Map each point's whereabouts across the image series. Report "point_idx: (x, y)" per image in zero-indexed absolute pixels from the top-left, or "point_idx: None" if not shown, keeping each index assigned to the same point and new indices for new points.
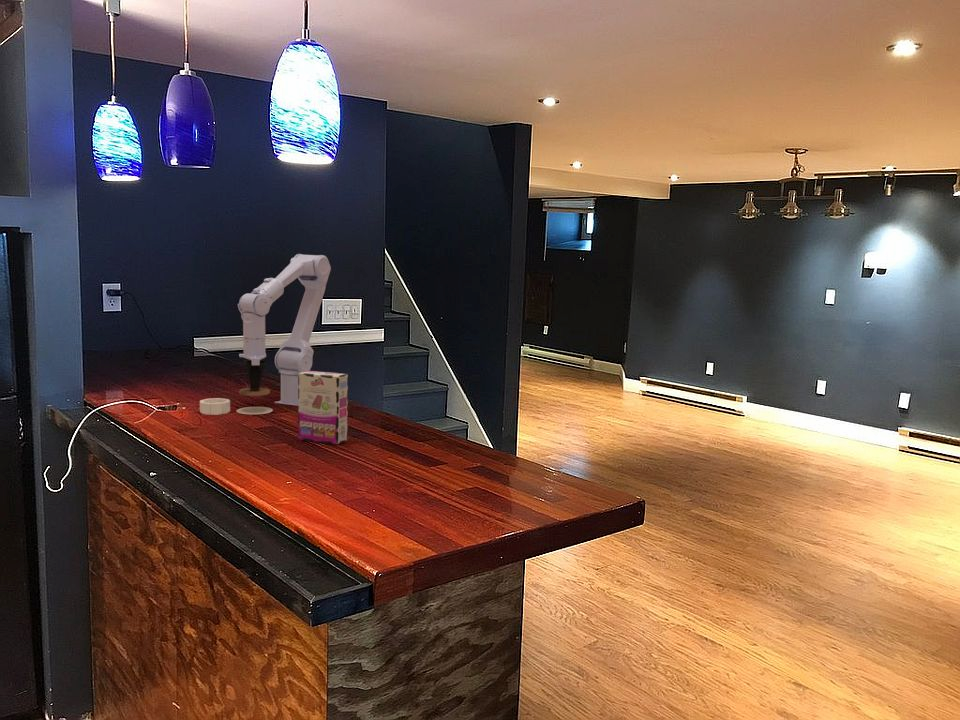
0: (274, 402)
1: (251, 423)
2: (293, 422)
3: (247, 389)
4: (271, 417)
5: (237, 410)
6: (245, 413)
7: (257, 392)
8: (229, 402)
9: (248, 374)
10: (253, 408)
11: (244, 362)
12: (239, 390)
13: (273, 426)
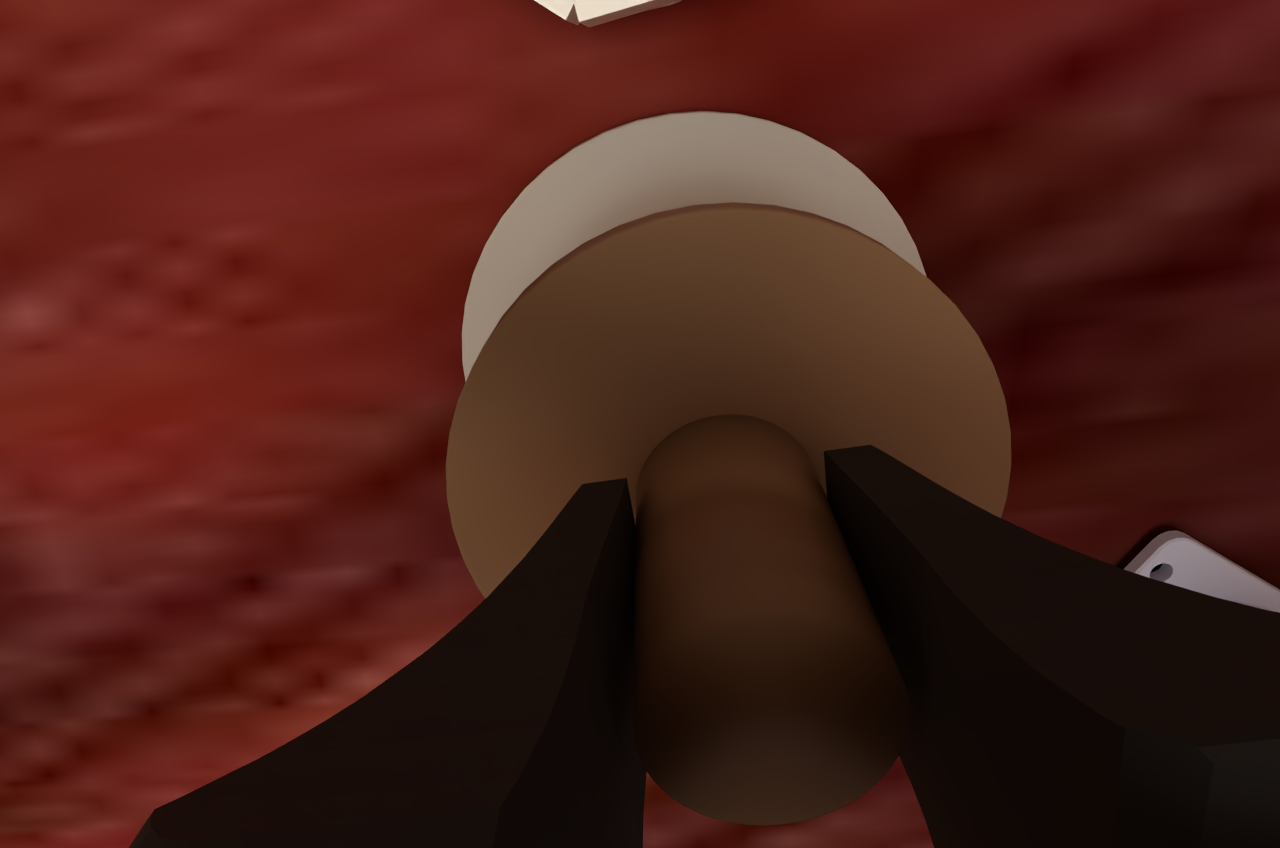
0: (1176, 538)
1: (96, 382)
2: (244, 749)
3: (807, 364)
4: (441, 553)
5: (693, 128)
6: (499, 268)
7: (512, 562)
8: (558, 14)
9: (425, 656)
10: None
11: (1147, 761)
12: (697, 218)
13: (23, 605)
